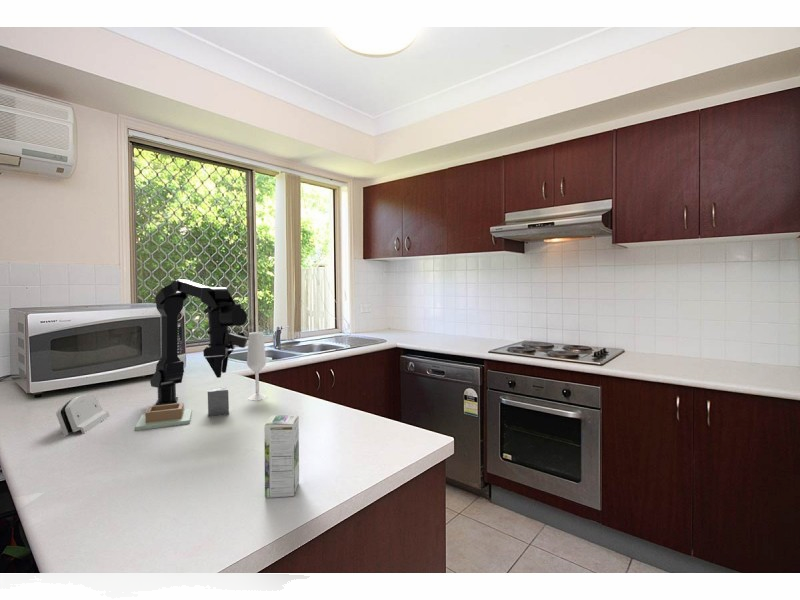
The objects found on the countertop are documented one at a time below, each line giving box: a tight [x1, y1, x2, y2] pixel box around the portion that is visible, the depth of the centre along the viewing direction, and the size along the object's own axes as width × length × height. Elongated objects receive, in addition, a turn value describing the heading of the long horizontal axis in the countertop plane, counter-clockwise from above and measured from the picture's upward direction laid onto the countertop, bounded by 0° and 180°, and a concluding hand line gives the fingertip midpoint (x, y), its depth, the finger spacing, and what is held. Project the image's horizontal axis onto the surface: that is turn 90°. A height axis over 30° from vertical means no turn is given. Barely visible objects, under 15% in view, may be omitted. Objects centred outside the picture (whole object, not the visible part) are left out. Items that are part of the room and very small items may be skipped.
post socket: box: [134, 402, 193, 431], centre depth 127 cm, size 13×14×4 cm
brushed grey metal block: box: [207, 386, 230, 418], centre depth 133 cm, size 4×6×8 cm, turn 113°
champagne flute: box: [246, 331, 267, 401], centre depth 152 cm, size 7×7×24 cm
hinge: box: [55, 393, 111, 436], centre depth 124 cm, size 17×5×10 cm, turn 14°
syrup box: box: [263, 414, 300, 499], centre depth 83 cm, size 6×6×14 cm
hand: (221, 375), depth 133 cm, fingers open, 9 cm apart
